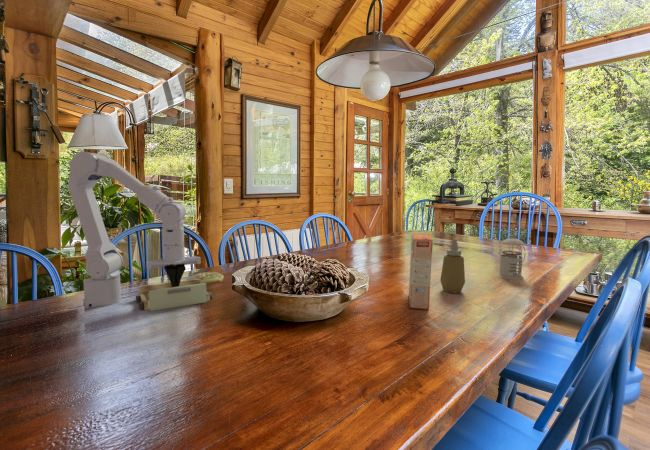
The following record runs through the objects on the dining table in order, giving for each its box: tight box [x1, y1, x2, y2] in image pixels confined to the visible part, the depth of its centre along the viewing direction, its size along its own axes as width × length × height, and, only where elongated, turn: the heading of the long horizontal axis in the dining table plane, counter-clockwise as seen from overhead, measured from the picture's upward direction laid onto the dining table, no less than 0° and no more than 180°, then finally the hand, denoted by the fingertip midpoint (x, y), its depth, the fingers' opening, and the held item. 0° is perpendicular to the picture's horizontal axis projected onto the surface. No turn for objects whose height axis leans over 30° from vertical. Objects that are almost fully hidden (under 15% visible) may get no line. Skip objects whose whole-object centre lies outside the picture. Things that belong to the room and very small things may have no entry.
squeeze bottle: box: [439, 238, 466, 294], centre depth 131 cm, size 8×8×18 cm
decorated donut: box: [192, 271, 225, 285], centre depth 137 cm, size 10×11×4 cm
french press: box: [496, 213, 526, 281], centre depth 153 cm, size 10×12×25 cm
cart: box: [135, 278, 213, 312], centre depth 114 cm, size 20×12×6 cm, turn 122°
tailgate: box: [149, 283, 208, 312], centre depth 108 cm, size 15×1×6 cm, turn 122°
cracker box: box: [408, 232, 434, 310], centre depth 118 cm, size 14×6×21 cm, turn 168°
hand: (175, 290), depth 113 cm, fingers closed
